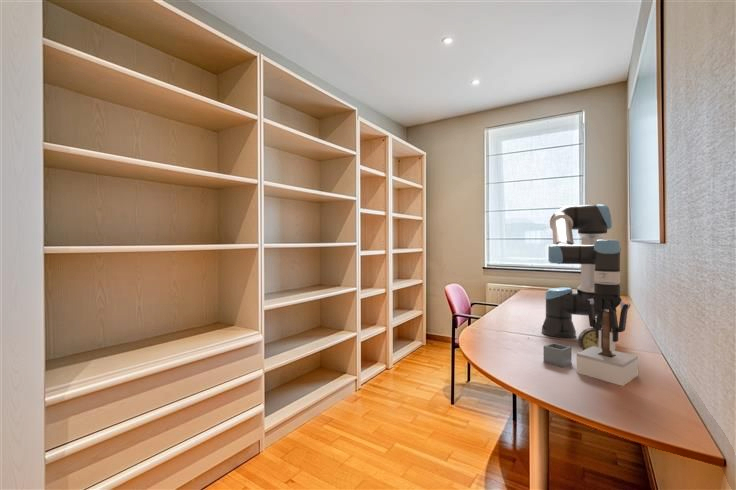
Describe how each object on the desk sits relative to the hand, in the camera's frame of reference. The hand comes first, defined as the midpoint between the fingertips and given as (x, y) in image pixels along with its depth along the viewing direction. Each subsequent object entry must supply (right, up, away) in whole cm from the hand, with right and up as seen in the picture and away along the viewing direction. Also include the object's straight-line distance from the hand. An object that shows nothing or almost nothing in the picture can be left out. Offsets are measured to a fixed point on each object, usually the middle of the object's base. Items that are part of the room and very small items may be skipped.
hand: (606, 349), depth 121 cm
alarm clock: (+7, -9, +17) cm, 21 cm away
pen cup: (-11, -9, +12) cm, 19 cm away
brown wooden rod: (0, -5, 0) cm, 5 cm away
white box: (0, -9, 0) cm, 9 cm away
